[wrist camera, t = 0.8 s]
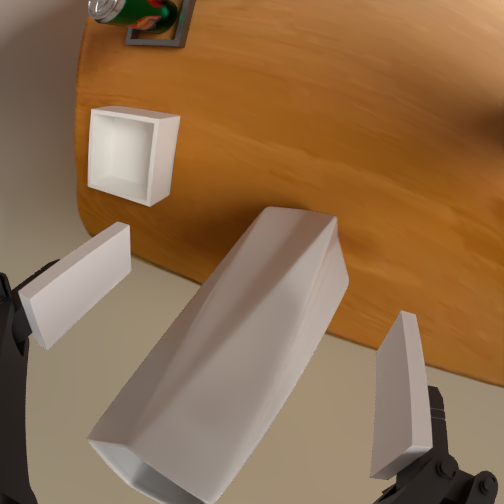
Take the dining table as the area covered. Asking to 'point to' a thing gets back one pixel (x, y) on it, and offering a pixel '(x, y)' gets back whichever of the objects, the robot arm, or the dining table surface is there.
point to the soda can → (135, 13)
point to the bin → (132, 152)
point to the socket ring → (180, 33)
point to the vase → (227, 361)
